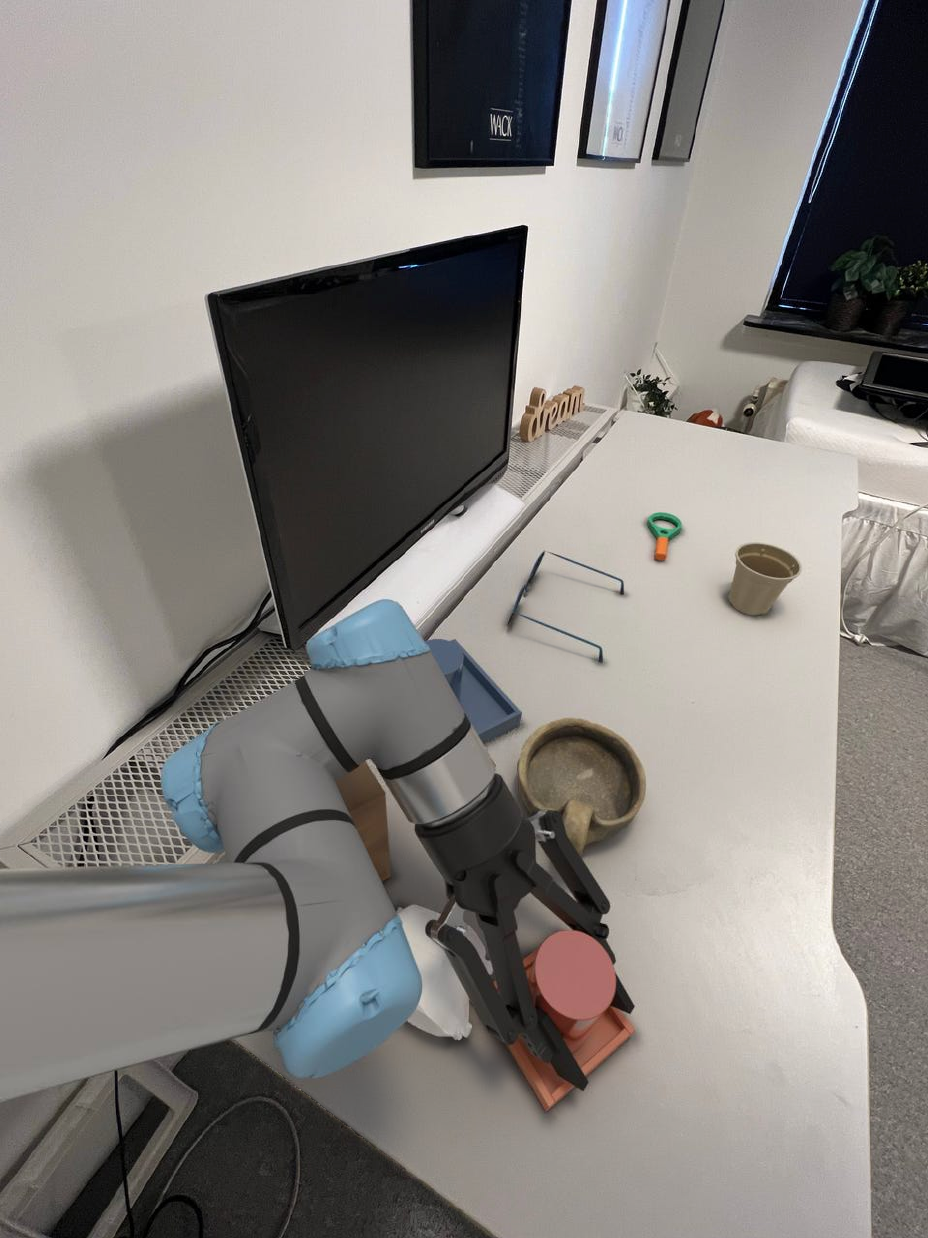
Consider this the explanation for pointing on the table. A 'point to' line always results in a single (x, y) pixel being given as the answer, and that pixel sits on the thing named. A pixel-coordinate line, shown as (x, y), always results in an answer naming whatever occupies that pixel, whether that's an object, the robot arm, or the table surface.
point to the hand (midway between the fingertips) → (597, 1040)
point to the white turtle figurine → (438, 978)
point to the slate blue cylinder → (449, 662)
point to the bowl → (582, 778)
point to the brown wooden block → (368, 814)
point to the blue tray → (485, 702)
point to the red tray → (588, 1055)
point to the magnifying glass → (663, 532)
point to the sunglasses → (549, 625)
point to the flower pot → (761, 576)
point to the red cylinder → (572, 983)
